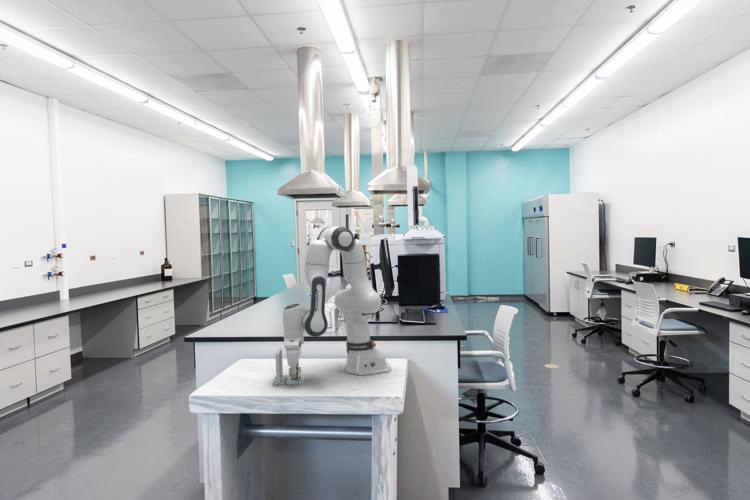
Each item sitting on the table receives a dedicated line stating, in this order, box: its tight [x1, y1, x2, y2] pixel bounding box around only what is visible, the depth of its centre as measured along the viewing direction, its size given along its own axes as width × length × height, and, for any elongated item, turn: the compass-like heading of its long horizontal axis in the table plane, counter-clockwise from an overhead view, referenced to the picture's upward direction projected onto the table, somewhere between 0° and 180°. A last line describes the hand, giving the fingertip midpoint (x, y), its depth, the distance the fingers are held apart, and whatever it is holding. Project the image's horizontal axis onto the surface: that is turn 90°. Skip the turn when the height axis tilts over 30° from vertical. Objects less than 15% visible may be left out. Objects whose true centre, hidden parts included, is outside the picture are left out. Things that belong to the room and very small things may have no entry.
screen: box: [272, 346, 288, 387], centre depth 206 cm, size 5×12×14 cm, turn 6°
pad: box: [286, 376, 304, 385], centre depth 206 cm, size 7×7×1 cm
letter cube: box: [288, 366, 302, 382], centre depth 206 cm, size 5×5×5 cm
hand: (295, 369), depth 207 cm, fingers open, 8 cm apart
